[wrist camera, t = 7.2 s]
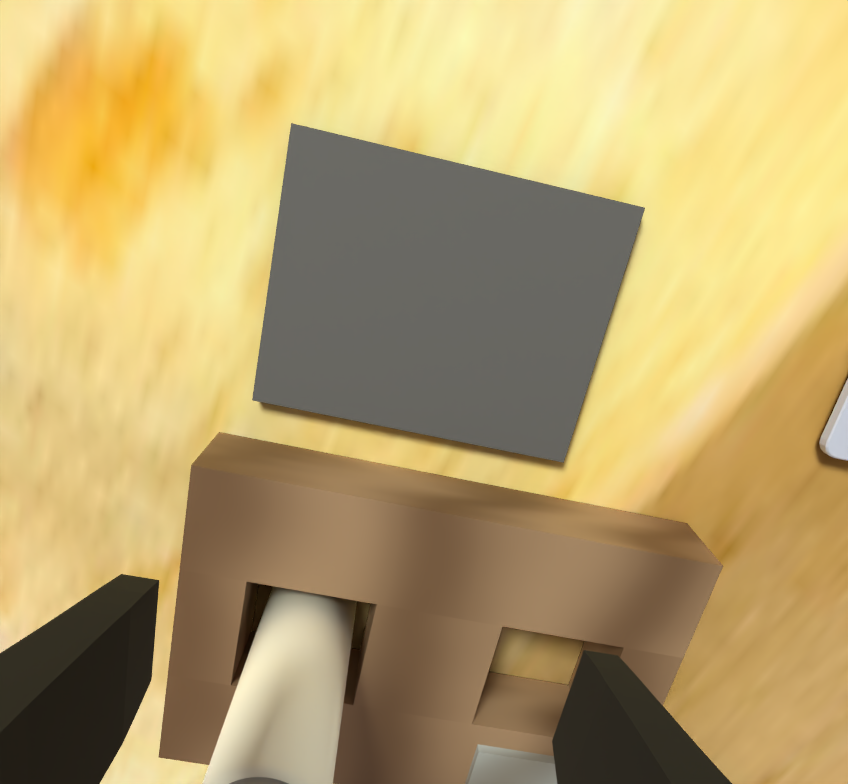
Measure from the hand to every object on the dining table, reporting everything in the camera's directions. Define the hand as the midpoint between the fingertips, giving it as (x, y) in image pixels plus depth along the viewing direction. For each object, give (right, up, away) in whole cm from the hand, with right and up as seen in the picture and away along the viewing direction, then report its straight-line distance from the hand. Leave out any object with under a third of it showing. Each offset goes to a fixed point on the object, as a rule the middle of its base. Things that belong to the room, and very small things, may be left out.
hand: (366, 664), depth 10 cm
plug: (-3, -3, +11) cm, 12 cm away
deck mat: (+1, +7, +8) cm, 11 cm away
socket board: (+1, -3, +11) cm, 12 cm away
